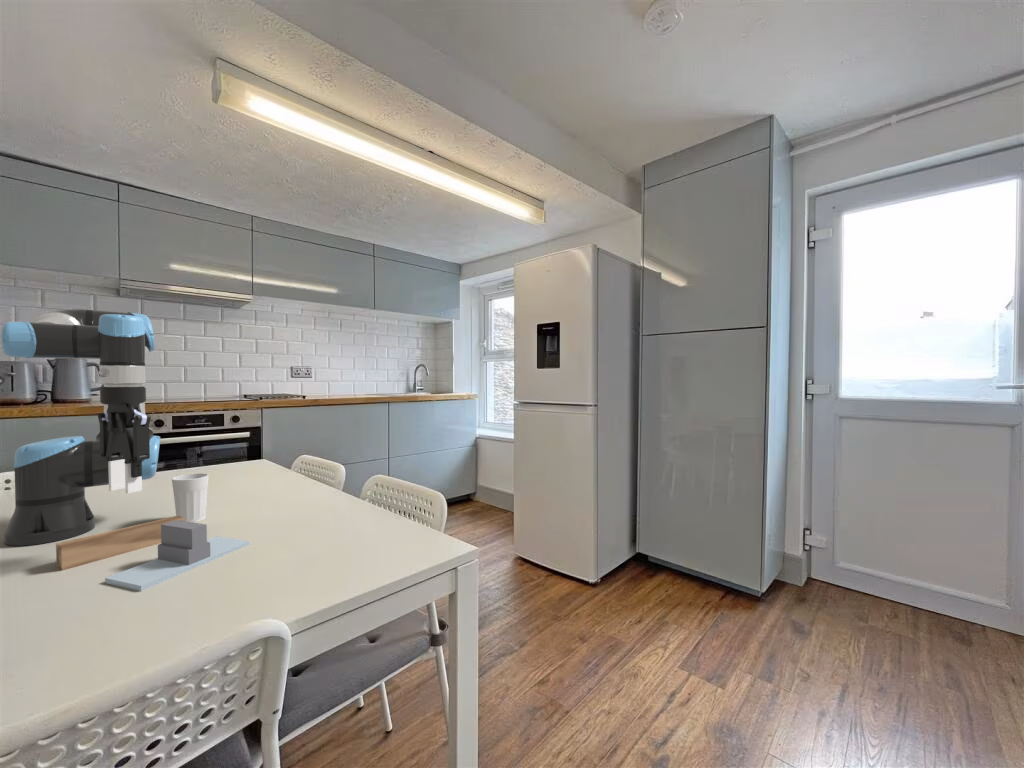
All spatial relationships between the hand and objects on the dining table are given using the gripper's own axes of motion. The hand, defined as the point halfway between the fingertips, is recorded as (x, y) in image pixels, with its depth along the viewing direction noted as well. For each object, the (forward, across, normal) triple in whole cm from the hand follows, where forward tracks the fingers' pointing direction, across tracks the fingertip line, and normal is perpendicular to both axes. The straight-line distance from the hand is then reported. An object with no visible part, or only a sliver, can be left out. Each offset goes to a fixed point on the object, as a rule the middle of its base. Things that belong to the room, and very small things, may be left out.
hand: (125, 490), depth 96 cm
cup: (+14, -6, +19) cm, 24 cm away
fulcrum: (+13, +18, 0) cm, 23 cm away
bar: (+14, 0, 0) cm, 14 cm away
